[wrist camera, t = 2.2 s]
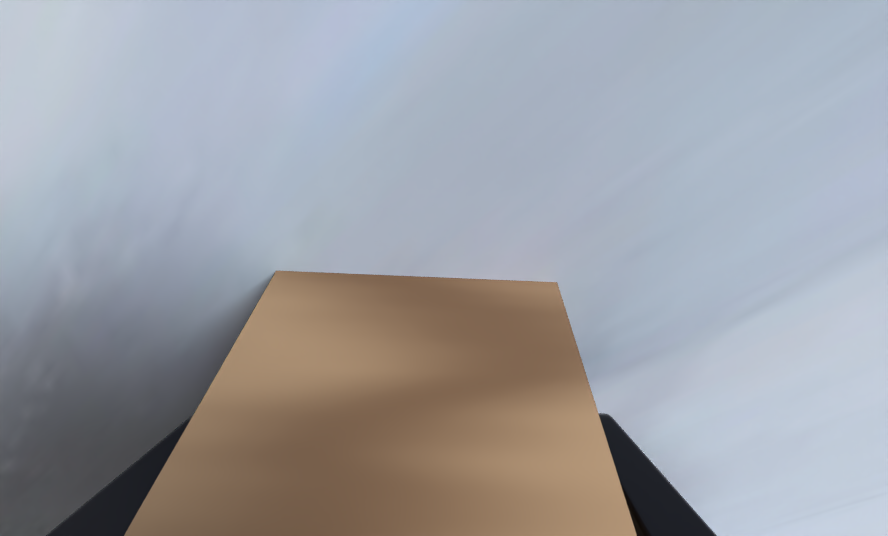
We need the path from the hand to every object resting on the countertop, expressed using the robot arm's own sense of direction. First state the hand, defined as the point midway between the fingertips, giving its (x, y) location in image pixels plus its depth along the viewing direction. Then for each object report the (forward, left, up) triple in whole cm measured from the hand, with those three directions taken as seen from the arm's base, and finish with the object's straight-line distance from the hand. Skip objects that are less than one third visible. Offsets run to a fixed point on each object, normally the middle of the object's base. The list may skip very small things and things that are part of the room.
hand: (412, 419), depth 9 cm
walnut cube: (0, 0, -1) cm, 1 cm away
